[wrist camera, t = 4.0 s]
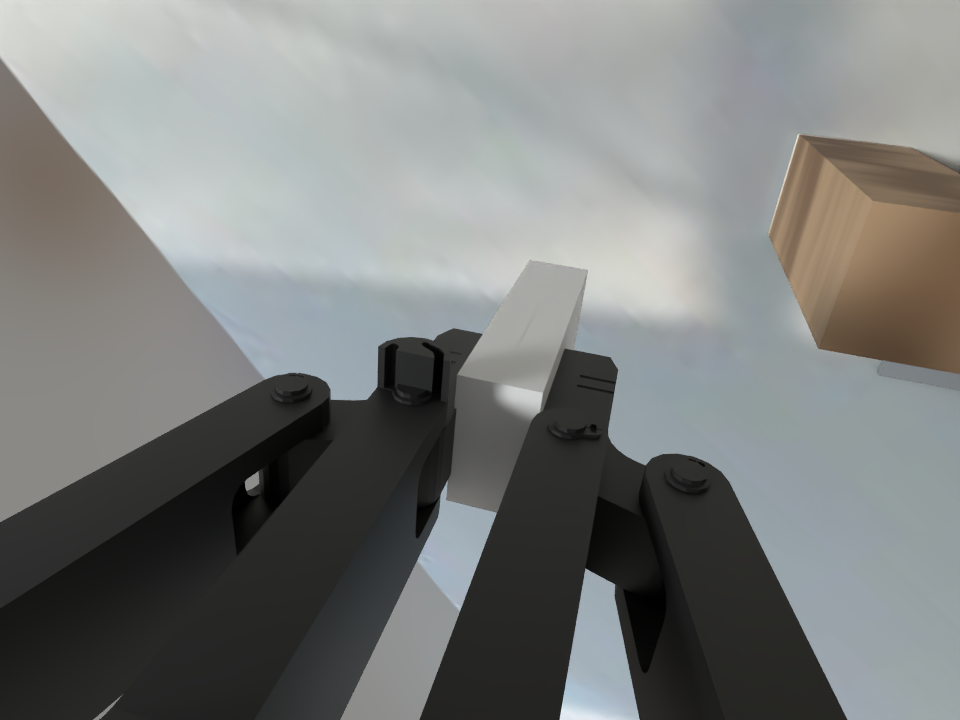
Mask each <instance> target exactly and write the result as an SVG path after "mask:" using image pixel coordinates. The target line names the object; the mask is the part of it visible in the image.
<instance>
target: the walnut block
mask: <svg viewBox="0 0 960 720" xmlns="http://www.w3.org/2000/svg"><path fill="white" fill-rule="evenodd" d="M768 235H769V238H770V240H771V242H772V244H773V247H774V249H775V251H776V254H777V256H778V258H779V260H780V263H781V265H782V267H783V269H784V272H785V274H786V276H787V279H788V281H789V283H790V285H791V288H792V290H793V292H794V294H795V297H796V299H797V301H798V304H799V306H800V308H801V310H802V313H803V315H804V317H805V319H806V322H807V324H808V326H809V329H810V331H811V333H812V335H813V338H814V340H815V342H816V344H817V347H818V349H823V350H828V351H834V352H840V353H845V354H851V355H856V356H862V357H867V358H873V359H878V360H884V361H889V362H895V363H900V364H906V365H911V366H917V367H922V368H928V369H933V370H939V371H944V372H950V373H955V374H960V174H959V173H957V172H955V171H954V170H952V169H950V168H948V167H946V166H944V165H942V164H940V163H939V162H937V161H935V160H933V159H931V158H929V157H927V156H925V155H924V154H922V153H920V152H918V151H916V150H914V149H912V148H910V147H903V146H895V145H887V144H879V143H871V142H863V141H855V140H847V139H839V138H831V137H824V136H816V135H808V134H800V133H798V135H797V139H796V142H795V145H794V149H793V152H792V155H791V159H790V162H789V165H788V169H787V172H786V175H785V178H784V182H783V185H782V188H781V192H780V195H779V198H778V202H777V205H776V208H775V212H774V215H773V218H772V221H771V225H770V228H769V231H768Z"/></svg>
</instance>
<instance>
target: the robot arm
mask: <svg viewBox="0 0 960 720" xmlns="http://www.w3.org/2000/svg"><path fill="white" fill-rule="evenodd" d="M587 272H588V270H585V269H579V268H573V267H567V266H562V265H556V264H550V263H544V262H539V261H533V260H530V261H529V262H528V264H527V265H526V267H525V268H524V270H523V272H522V273H521V275H520V276H519V278H518V280H517V281H516V283H515V284H514V286H513V287H512V289H511V291H510V292H509V294H508V295H507V297H506V298H505V300H504V302H503V303H502V305H501V306H500V308H499V309H498V311H497V313H496V314H495V316H494V317H493V319H492V321H491V322H490V324H489V325H488V327H487V328H486V330H485V332H484V333H483V334H480V333H475V332H470V331H465V330H459V329H454V328H453V329H451V330H449V331H447V332H445V333H442V334H440V335H438V336H437V337H436V338H435V340H434V341H432V340H429V339H425V338H415V337H407V338H397V339H393V340H390V341H386V342H385V343H383V344H382V345H380V346H379V347H378V387H377V388H376V390H375V391H374V392H373V393H372V395H371V396H370V397H369V398H368V399H367V400H356V401H351V400H331V398H330V388H329V386H328V384H327V383H326V382H325V381H323V380H321V379H320V378H318V377H315V376H311V375H307V374H302V373H298V374H296V373H288V374H284V375H277V376H274V377H271V378H269V379H266V380H263V381H262V382H260V383H258V384H256V385H254V386H252V387H250V388H249V389H247V390H245V391H243V392H241V393H239V394H237V395H236V396H234V397H232V398H230V399H228V400H226V401H224V402H223V403H221V404H219V405H217V406H215V407H213V408H211V409H210V410H208V411H206V412H204V413H202V414H200V415H199V416H197V417H195V418H193V419H191V420H189V421H188V422H186V423H184V424H182V425H180V426H179V427H176V428H174V429H173V430H171V431H169V432H167V433H165V434H163V435H161V436H160V437H158V438H156V439H154V440H152V441H151V442H148V443H147V444H145V445H143V446H141V447H139V448H137V449H135V450H134V451H132V452H130V453H128V454H126V455H125V456H123V457H121V458H119V459H117V460H115V461H113V462H111V463H110V464H108V465H106V466H104V467H102V468H100V469H98V470H97V471H95V472H93V473H91V474H89V475H87V476H85V477H83V478H82V479H80V480H78V481H76V482H74V483H72V484H70V485H69V486H67V487H65V488H63V489H61V490H59V491H57V492H56V493H54V494H52V495H50V496H48V497H47V498H45V499H43V500H41V501H39V502H37V503H35V504H33V505H32V506H30V507H28V508H26V509H24V510H22V511H21V512H19V513H17V514H15V515H13V516H11V517H9V518H7V519H6V520H4V521H2V522H0V720H93V719H94V718H95V717H97V716H98V715H99V714H100V713H101V712H103V711H104V710H105V709H106V708H107V707H108V706H109V705H111V704H112V703H113V702H114V701H115V700H117V699H118V698H119V697H120V696H121V695H122V694H123V695H122V697H120V699H119V700H118V701H117V702H116V704H115V705H114V706H113V707H112V708H111V709H110V710H109V711H108V712H107V713H106V714H105V715H104V716H103V717H102V718H101V719H99V720H340V719H341V717H342V715H343V713H344V711H345V708H346V706H347V704H348V702H349V700H350V698H351V696H352V693H353V692H354V690H355V688H356V686H357V684H358V682H359V680H360V677H361V675H362V673H363V671H364V669H365V667H366V665H367V663H368V661H369V659H370V657H371V655H372V653H373V650H374V649H375V646H376V644H377V642H378V640H379V638H380V636H381V634H382V632H383V630H384V628H385V626H386V624H387V622H388V620H389V617H390V615H391V613H392V611H393V609H394V607H395V605H396V603H397V601H398V599H399V597H400V595H401V592H402V591H403V588H404V586H405V584H406V582H407V580H408V578H409V576H410V574H411V572H412V570H413V568H414V566H415V564H416V562H417V560H418V557H419V555H420V553H421V551H422V549H423V547H424V545H425V543H426V541H427V539H428V537H429V535H430V533H431V531H432V528H433V526H434V524H435V522H436V520H437V518H438V514H439V507H440V495H441V492H442V490H443V488H444V486H445V484H446V482H447V480H448V486H447V498H446V500H448V501H452V502H456V503H460V504H464V505H468V506H472V507H476V508H481V509H485V510H489V511H493V512H497V514H496V517H495V520H494V522H493V525H492V528H491V530H490V533H489V536H488V538H487V541H486V544H485V546H484V549H483V552H482V554H481V557H480V560H479V562H478V565H477V568H476V571H475V573H474V576H473V579H472V581H471V584H470V587H469V589H468V592H467V595H466V597H465V600H464V603H463V605H462V608H461V611H460V613H459V616H458V619H457V621H456V624H455V627H454V629H453V632H452V635H451V637H450V640H449V643H448V645H447V648H446V651H445V653H444V656H443V659H442V662H441V664H440V667H439V670H438V672H437V675H436V677H435V680H434V683H433V685H432V688H431V691H430V693H429V696H428V699H427V701H426V704H425V707H424V709H423V712H422V715H421V717H420V720H559V719H560V713H561V707H562V701H563V695H564V690H565V684H566V678H567V672H568V666H569V660H570V655H571V649H572V643H573V637H574V631H575V626H576V620H577V614H578V608H579V602H580V596H581V591H582V585H583V579H584V573H585V568H586V569H588V570H589V571H591V572H593V573H595V574H597V575H599V576H601V577H603V578H604V579H606V580H608V581H610V582H612V583H614V584H615V600H616V605H617V610H618V615H619V620H620V625H621V630H622V635H623V640H624V645H625V650H626V654H627V659H628V664H629V669H630V674H631V679H632V684H633V689H634V694H635V699H636V704H637V709H638V713H639V718H640V720H847V718H846V716H845V714H844V712H843V710H842V708H841V706H840V704H839V702H838V700H837V698H836V696H835V694H834V692H833V690H832V688H831V686H830V684H829V682H828V680H827V678H826V676H825V674H824V672H823V670H822V668H821V666H820V664H819V662H818V660H817V658H816V656H815V654H814V652H813V650H812V648H811V646H810V644H809V642H808V640H807V638H806V636H805V634H804V632H803V630H802V628H801V626H800V624H799V621H798V619H797V617H796V615H795V613H794V611H793V609H792V607H791V605H790V603H789V601H788V599H787V597H786V595H785V593H784V591H783V589H782V587H781V585H780V583H779V581H778V579H777V577H776V575H775V573H774V571H773V569H772V567H771V565H770V563H769V561H768V559H767V557H766V555H765V553H764V551H763V549H762V547H761V545H760V543H759V541H758V539H757V537H756V535H755V533H754V531H753V529H752V527H751V525H750V523H749V521H748V519H747V517H746V515H745V513H744V511H743V509H742V507H741V505H740V503H739V501H738V499H737V497H736V495H735V493H734V491H733V489H732V487H731V485H730V483H729V481H728V480H727V479H726V477H725V476H724V475H723V474H722V472H721V471H719V470H718V469H716V468H715V467H713V466H712V465H710V464H709V463H707V462H705V461H703V460H701V459H698V458H695V457H692V456H686V455H681V454H662V455H659V456H657V457H654V458H652V459H651V460H650V461H649V462H648V463H647V465H646V466H645V465H643V464H641V463H638V462H636V461H634V460H632V459H630V458H628V457H626V456H625V455H624V454H622V453H621V452H620V451H618V450H617V449H616V448H615V447H614V445H613V444H612V443H611V441H610V439H609V437H608V426H609V420H610V414H611V408H612V402H613V397H614V391H615V385H616V379H617V373H618V369H617V367H616V366H615V364H614V363H613V361H612V359H611V358H610V357H606V356H601V355H596V354H591V353H585V352H580V351H575V350H574V346H575V341H576V335H577V329H578V324H579V318H580V312H581V306H582V301H583V295H584V289H585V284H586V278H587ZM258 471H259V484H258V485H257V486H256V487H254V488H253V489H251V490H248V491H246V489H245V481H246V479H248V478H249V477H251V476H252V475H253V474H255V473H256V472H258Z"/></svg>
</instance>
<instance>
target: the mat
mask: <svg viewBox="0 0 960 720" xmlns="http://www.w3.org/2000/svg"><path fill="white" fill-rule="evenodd" d="M877 373H878V374H879V376H884V377H890V378H895V379H900V380H906V381H911V382H916V383H922V384H927V385H933V386H938V387H943V388H949V389H954V390H960V374H955V373H950V372H944V371H939V370H933V369H928V368H922V367H917V366H911V365H906V364H900V363H895V362H889V361H884V360H882V362H881V364H880V367H879V369H878V371H877Z"/></svg>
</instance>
